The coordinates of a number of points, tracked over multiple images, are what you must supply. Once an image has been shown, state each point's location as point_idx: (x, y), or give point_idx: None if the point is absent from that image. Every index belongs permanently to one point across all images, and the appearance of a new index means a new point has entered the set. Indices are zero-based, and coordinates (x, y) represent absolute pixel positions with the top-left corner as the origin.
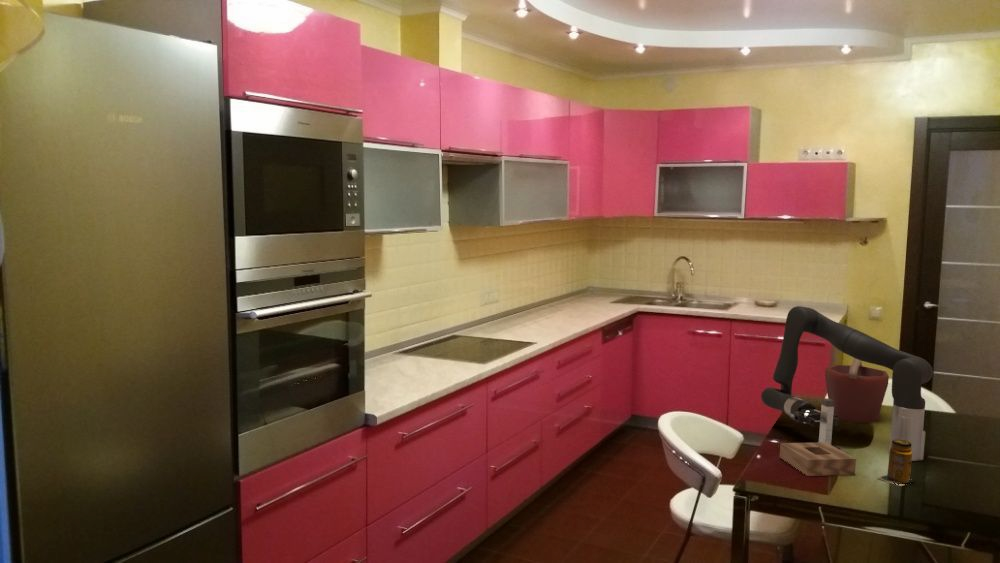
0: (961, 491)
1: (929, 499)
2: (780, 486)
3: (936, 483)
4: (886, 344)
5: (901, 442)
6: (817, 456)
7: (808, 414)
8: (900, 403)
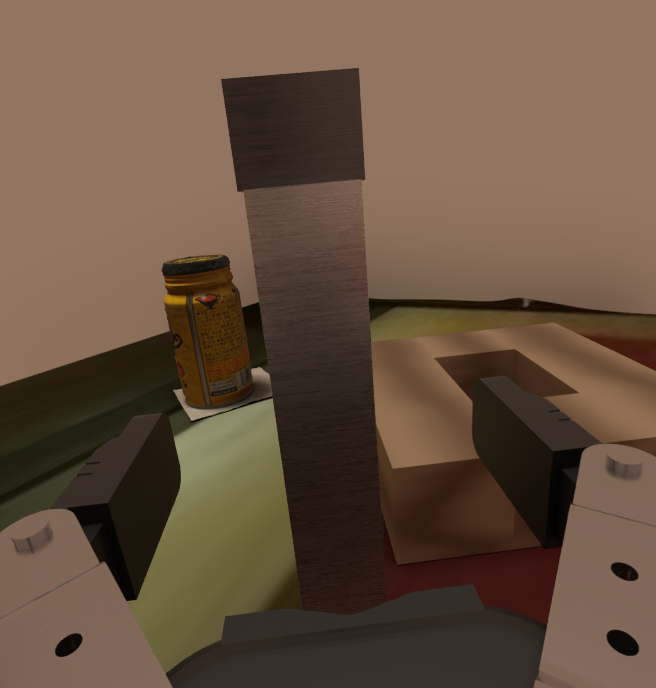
0: (117, 368)
1: (252, 340)
2: (632, 337)
3: (122, 389)
4: None
5: (202, 259)
6: (508, 340)
7: (567, 533)
8: None
